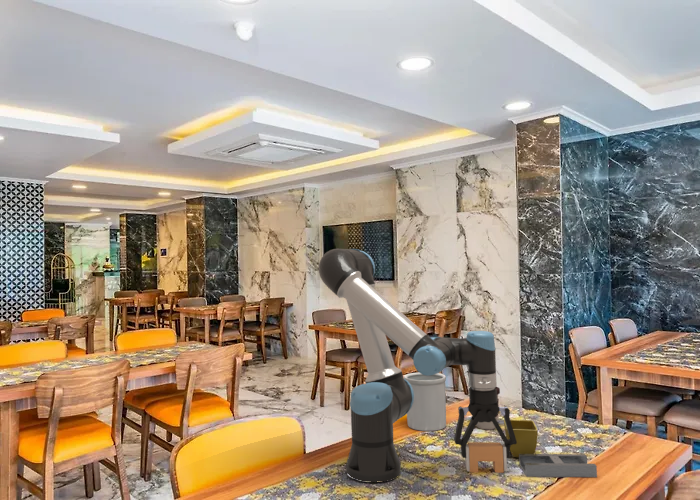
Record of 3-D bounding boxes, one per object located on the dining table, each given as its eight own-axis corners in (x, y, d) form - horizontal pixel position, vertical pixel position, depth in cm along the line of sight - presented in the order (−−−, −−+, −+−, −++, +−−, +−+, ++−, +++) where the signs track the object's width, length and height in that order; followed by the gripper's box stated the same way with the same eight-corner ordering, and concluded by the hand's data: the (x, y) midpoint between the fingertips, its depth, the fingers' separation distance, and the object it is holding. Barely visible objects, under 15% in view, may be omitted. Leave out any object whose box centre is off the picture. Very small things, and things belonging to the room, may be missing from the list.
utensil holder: (401, 420, 183) (400, 372, 184) (440, 417, 185) (439, 370, 186) (410, 433, 169) (409, 381, 169) (453, 430, 170) (451, 379, 171)
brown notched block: (470, 472, 135) (469, 446, 136) (468, 467, 139) (467, 442, 139) (503, 472, 135) (502, 446, 135) (501, 467, 138) (500, 442, 138)
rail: (526, 476, 132) (526, 465, 132) (519, 464, 140) (518, 453, 140) (597, 477, 130) (596, 465, 130) (585, 465, 138) (585, 454, 138)
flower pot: (539, 461, 141) (538, 429, 142) (507, 460, 143) (506, 428, 144) (534, 450, 150) (533, 420, 150) (504, 449, 152) (503, 419, 152)
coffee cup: (504, 430, 168) (503, 386, 169) (475, 431, 168) (474, 387, 169) (496, 421, 178) (494, 379, 179) (469, 422, 178) (467, 380, 179)
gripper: (444, 391, 135) (447, 474, 134) (526, 390, 133) (530, 475, 132) (441, 384, 142) (444, 463, 141) (519, 384, 140) (523, 464, 139)
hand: (486, 469), depth 137 cm, fingers open, 9 cm apart
